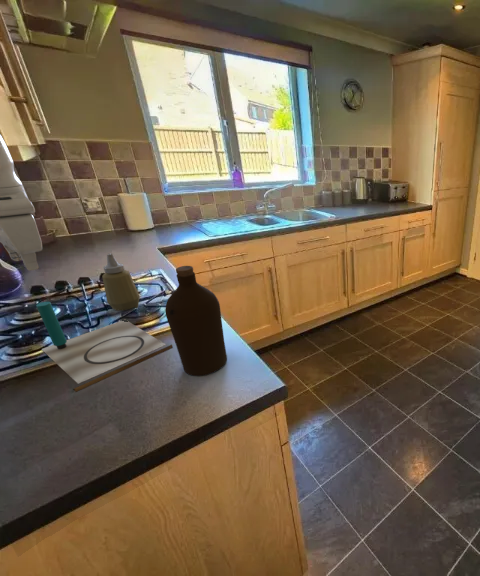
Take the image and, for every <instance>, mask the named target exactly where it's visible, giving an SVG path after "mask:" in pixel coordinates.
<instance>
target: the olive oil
mask: <svg viewBox="0 0 480 576" xmlns="http://www.w3.org/2000/svg"><path fill="white" fill-rule="evenodd" d="M175 272H176V279H177V282H178V286H177V287H176V288H175V290H174V291H173V292H172V293H171V295H169V297H168V299H167V300H166V304H165V317H166V320H167V323H168V326H169V328H170V331H171V334H172V337H173V341H174V343H175V347H176V349H177V352H178V356H179V358H180V362H181V365H182V369H183V371H184V372H185V374H187V375H189V376H193V377H201V376H207V375H210V374H213V373H215V372H217V371H219V370H221V369H222V368H223V367H224V366H225V365H226V363H227V361H228V357H227V350H226V349H227V348H226V344H225V337H224V328H223V320H222V313H221V312H222V311H221V304H220V301H219V299H218V297H217V296H216V294H215V293H214V292H213V291H211V290H210V289H208V288H206V287H205V286H203V285H202V284H199V283H198V282H197V277H196V273H195V272H194V267H193V266H192V265H182V266H179V267H176V268H175Z"/></svg>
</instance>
